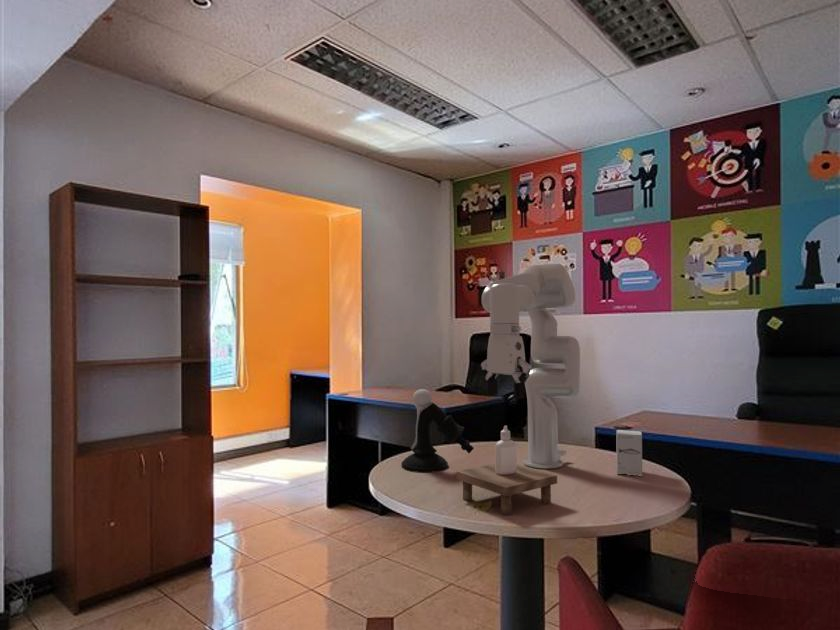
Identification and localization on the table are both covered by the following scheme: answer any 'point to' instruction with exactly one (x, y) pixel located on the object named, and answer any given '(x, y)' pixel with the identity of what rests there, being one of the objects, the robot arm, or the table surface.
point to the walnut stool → (507, 483)
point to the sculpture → (424, 450)
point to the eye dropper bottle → (505, 454)
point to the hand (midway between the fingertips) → (505, 396)
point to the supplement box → (629, 452)
